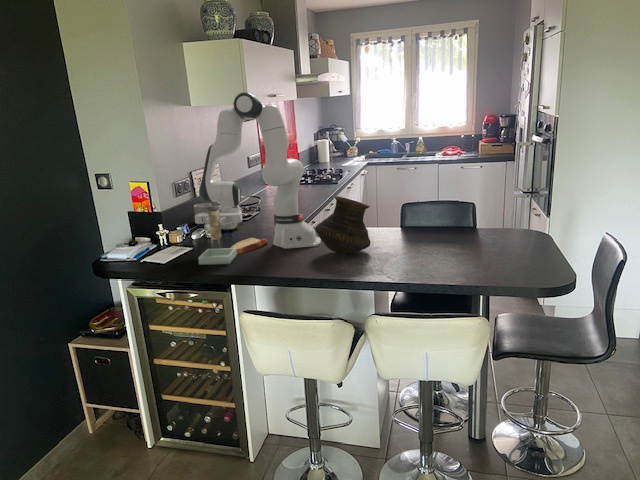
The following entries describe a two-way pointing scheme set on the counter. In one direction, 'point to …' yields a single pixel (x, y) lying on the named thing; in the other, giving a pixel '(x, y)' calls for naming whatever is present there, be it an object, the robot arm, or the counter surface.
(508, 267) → the counter surface
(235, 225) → the tin
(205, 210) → the coffee mug
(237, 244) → the slice of bread
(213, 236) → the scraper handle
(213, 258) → the box
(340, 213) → the ceramic pot
